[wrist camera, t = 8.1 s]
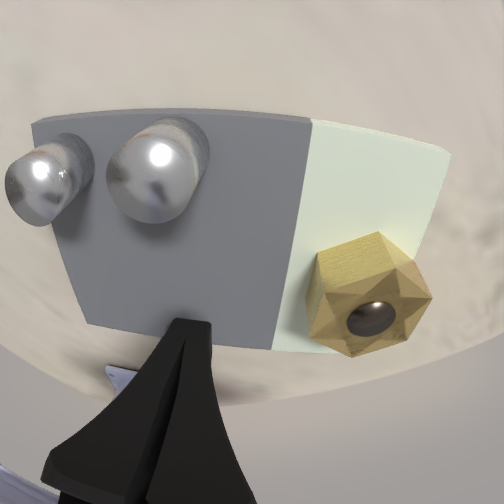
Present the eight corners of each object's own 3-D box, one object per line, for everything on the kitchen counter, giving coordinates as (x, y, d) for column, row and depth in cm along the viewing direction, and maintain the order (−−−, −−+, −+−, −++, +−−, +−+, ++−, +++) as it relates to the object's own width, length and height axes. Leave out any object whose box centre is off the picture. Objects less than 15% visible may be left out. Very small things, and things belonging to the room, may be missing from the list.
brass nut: (385, 321, 16) (395, 358, 14) (300, 317, 16) (302, 357, 14) (425, 237, 13) (447, 273, 11) (323, 224, 13) (333, 263, 11)
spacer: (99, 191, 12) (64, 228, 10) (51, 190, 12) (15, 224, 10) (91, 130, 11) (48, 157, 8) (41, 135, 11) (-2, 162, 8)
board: (362, 341, 19) (364, 353, 18) (92, 312, 19) (87, 323, 18) (441, 147, 11) (451, 154, 10) (43, 117, 11) (31, 124, 10)
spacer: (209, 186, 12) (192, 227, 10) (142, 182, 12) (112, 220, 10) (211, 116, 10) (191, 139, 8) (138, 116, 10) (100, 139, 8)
